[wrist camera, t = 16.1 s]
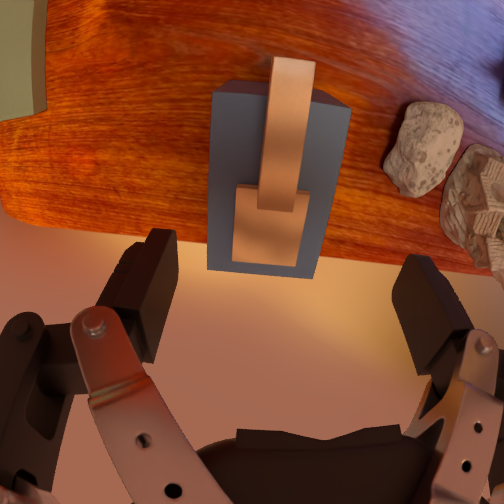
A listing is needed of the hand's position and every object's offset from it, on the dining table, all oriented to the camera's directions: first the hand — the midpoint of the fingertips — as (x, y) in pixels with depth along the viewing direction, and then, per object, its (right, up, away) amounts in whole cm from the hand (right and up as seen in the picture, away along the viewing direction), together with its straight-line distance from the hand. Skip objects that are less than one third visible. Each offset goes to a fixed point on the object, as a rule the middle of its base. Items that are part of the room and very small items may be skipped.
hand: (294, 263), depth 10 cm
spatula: (0, +7, +13) cm, 14 cm away
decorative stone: (+19, +13, +22) cm, 32 cm away
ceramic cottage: (+32, +8, +25) cm, 42 cm away
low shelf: (-32, +27, +14) cm, 44 cm away
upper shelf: (+1, +12, +24) cm, 26 cm away
